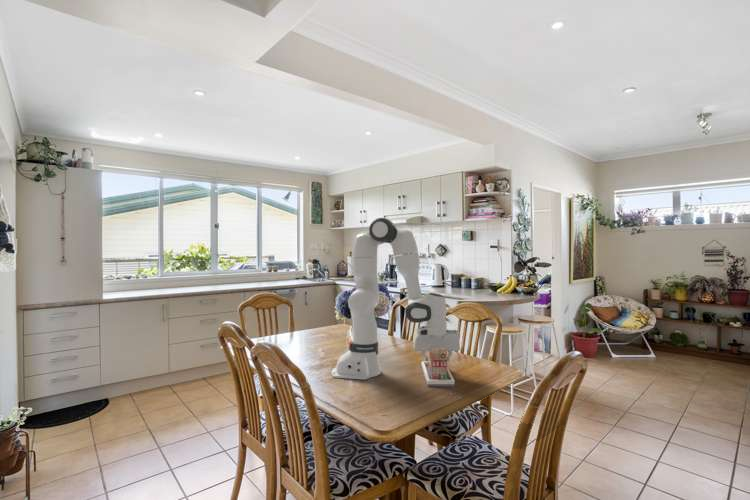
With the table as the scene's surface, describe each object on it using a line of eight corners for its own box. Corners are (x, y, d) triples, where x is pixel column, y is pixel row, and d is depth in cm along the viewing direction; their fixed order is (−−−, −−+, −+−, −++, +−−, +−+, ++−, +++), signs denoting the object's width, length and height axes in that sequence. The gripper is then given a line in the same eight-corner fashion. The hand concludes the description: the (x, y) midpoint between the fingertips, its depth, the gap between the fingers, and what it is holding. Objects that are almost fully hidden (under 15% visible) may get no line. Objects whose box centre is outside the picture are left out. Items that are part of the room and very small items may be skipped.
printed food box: (428, 365, 175) (428, 339, 175) (441, 365, 175) (441, 339, 175) (432, 381, 154) (432, 352, 154) (447, 381, 153) (447, 352, 153)
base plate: (427, 386, 151) (427, 380, 151) (421, 366, 177) (421, 361, 177) (454, 386, 151) (454, 380, 151) (444, 366, 177) (444, 361, 177)
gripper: (458, 328, 167) (459, 358, 166) (413, 328, 167) (413, 358, 167) (461, 331, 160) (461, 363, 160) (414, 331, 161) (414, 363, 161)
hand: (436, 360), depth 164 cm, fingers open, 8 cm apart
